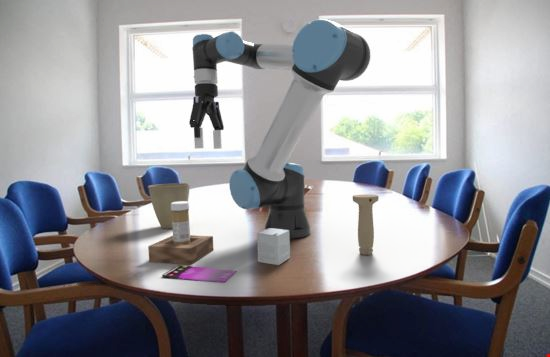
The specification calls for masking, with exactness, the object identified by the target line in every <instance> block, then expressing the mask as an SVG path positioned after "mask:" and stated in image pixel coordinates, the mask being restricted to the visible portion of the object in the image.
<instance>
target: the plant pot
mask: <svg viewBox="0 0 550 357" xmlns="http://www.w3.org/2000/svg"><path fill="white" fill-rule="evenodd" d="M147 187H148V193H149V197H150V200H151V204H152V207H153V211H154V213H155V216H156V218H157V222H158V223H159V225H160V227H161V228H162V229H165V230H166V229H173V227H172V210H171V203H173V202H178V201H187V202H189V197H190V190H191V188H190V187H191V184H190V182H189V183H188V182H187V183H185V182H182V183H181V182H179V183H178V182H176V183H175V182H174V183H173V182H172V183H161V184H151V185H148V186H147Z"/></svg>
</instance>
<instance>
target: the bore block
mask: <svg viewBox="0 0 550 357" xmlns="http://www.w3.org/2000/svg"><path fill="white" fill-rule="evenodd" d="M213 251H214V236H213V235H196V234H195V235H194V234H193V235H191V234H190V244H188V245H177V244H174V241H173V235H171V236H168V237H166V238H164V239H162V240H159V241H158V242H155V243H152V244H149V245H148V262H149V263H165V264H175V263H176V264H175V265H177V264H178V265H189V266H190V265H191V266H192V265H193V264H195V263H196V262H198V261H200V260H201V259H203V258H204V257H206V256H207V255H208V254H209V255H210V253H212V252H213Z"/></svg>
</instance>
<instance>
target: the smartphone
mask: <svg viewBox="0 0 550 357" xmlns="http://www.w3.org/2000/svg"><path fill="white" fill-rule="evenodd" d="M237 272H238V271H237V270H234V269H233V270H232V269H225V268H224V269H223V268H215V267H214V268H212V267H202V266H192V265H191V266H190V265H183V264H178V265H177V266H174V267H173V268H171V269H170V270H168V271H166V272H164V273H163V274H162V276H161V277H162V278H167V279H175V280H185V281H197V282H208V283H219V284H224V283H226V282H227V281H228V280H229V279H230V278H232V277H233V275H235V274H236V273H237Z"/></svg>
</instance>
